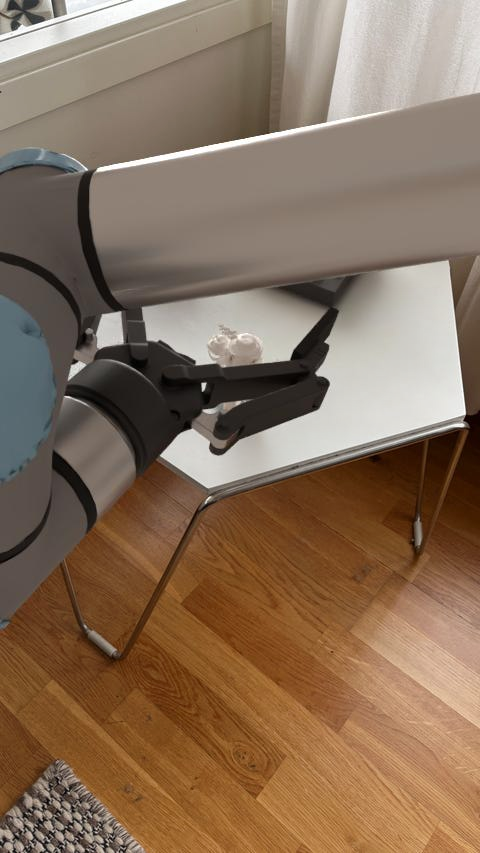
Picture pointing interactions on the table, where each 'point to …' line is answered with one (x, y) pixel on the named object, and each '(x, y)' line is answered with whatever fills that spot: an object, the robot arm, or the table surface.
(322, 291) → the scale
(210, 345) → the hat wearing toy figure
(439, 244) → the robot arm
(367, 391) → the table surface
